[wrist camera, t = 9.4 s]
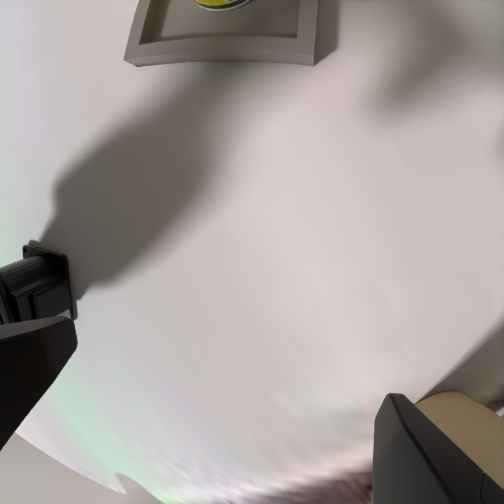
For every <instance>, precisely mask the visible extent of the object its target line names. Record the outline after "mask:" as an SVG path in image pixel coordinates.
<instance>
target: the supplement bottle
mask: <svg viewBox="0 0 504 504" xmlns="http://www.w3.org/2000/svg"><path fill="white" fill-rule="evenodd" d="M194 1H195V2H196V3H197V4H198V5H199V6H201V7H202V8H204V9H207V10H211V11H225V10H231V9H235V8H238V7H240V6H242V5H244V4H246V3H248V2H249V1H250V0H194Z"/></svg>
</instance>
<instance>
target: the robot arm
mask: <svg viewBox="0 0 504 504" xmlns="http://www.w3.org/2000/svg"><path fill="white" fill-rule="evenodd" d="M73 321H74V318H73V311H72V304H71V295H70V286H69V276H68V264H67V258H66V256H65V255H63V254H60V253H56V252H52V251H49V250H45V249H42V248H38V247H34V246H31V245H24V246H23V259H22V260H20V261H17V262H14V263H12V264H9V265H6V266H4V267H1V268H0V451H1V449H2V448H3V446H4V445H5V444H6V443H7V441H8V440H9V438H10V437H11V436H12V434H13V433H14V432H15V431H16V429H17V428H18V427H19V425H20V424H21V423H22V421H23V420H24V419H25V417H26V416H27V415H28V414H29V412H30V411H31V410H32V409H33V407H34V406H35V405H36V403H37V402H38V401H39V400H40V398H41V397H42V396H43V395H44V394H45V392H46V391H47V390H48V389H49V387H50V386H51V385H52V384H53V382H54V381H55V379H56V378H57V377H58V375H59V374H60V372H61V371H62V369H63V368H64V366H65V365H66V363H67V362H68V360H69V359H70V357H71V356H72V354H73V353H74V352H75V350H76V348H77V345H78V341H77V336H76V330H75V324H74V322H73ZM372 477H373V504H504V489H503V488H502V487H501V486H499V485H498V484H497V483H496V482H495V481H494V480H493V479H492V478H491V477H490V476H489V475H488V474H487V473H485V472H484V473H483V470H482V469H481V468H480V467H479V466H478V465H477V464H476V463H475V462H474V461H473V460H472V459H471V458H470V457H469V456H468V455H467V454H465V453H464V452H463V451H462V450H461V449H460V448H459V447H458V446H457V445H456V444H455V443H454V442H453V441H452V440H451V439H450V438H449V437H448V436H447V435H446V434H444V433H443V432H442V431H441V430H440V429H439V428H438V427H437V426H436V425H435V424H434V423H433V422H432V421H431V420H430V419H429V418H428V417H427V416H426V415H425V414H423V413H422V412H421V411H420V410H419V409H418V408H417V407H416V406H415V405H414V404H413V403H412V402H411V401H410V400H409V399H408V398H407V397H406V396H405V395H403V394H399V393H389V394H387V395H386V397H385V399H384V401H383V403H382V405H381V407H380V409H379V411H378V413H377V415H376V418H375V424H374V450H373V468H372Z"/></svg>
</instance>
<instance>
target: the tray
mask: <svg viewBox="0 0 504 504" xmlns="http://www.w3.org/2000/svg"><path fill="white" fill-rule="evenodd" d="M318 6H319V0H250V1H249V2H248V3H246V4H244V5H242V6H240V7H238V8H235V9H231V10H225V11H211V10H207V9H204V8H202V7H201V6H199V5H198V4H197V3H196V2H195V1H194V0H139V2H138V6H137V9H136V12H135V16H134V20H133V23H132V27H131V31H130V35H129V39H128V43H127V47H126V51H125V56H124V61H126V62H129V63H131V64H133V65H134V66H136V67H141V66H149V65H158V64H169V63H181V62H199V61H258V62H276V63H289V64H300V65H309V66H314V59H315V47H316V34H317V21H318Z"/></svg>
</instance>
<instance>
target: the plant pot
mask: <svg viewBox="0 0 504 504" xmlns="http://www.w3.org/2000/svg"><path fill="white" fill-rule="evenodd" d="M415 406H416V407H417V408H418V409H419V410H420V411H421V412H422V413H423V414H425V415H426V416H427V417H428V418H429V419H430V420H431V421H432V422H433V423H434V424H435V425H436V426H437V427H438V428H439V429H440V430H441V431H442V432H443V433H444V434H446V435H447V436H448V437H449V438H450V439H451V440H452V441H453V442H454V443H455V444H456V445H457V446H458V447H459V448H460V449H461V450H462V451H463V452H464V453H465V454H467V455H468V456H469V457H470V458H471V459H472V460H473V461H474V462H475V463H476V464H477V465H478V466H479V467H480V468H481V469H482V470H483V473H484V472H485V473H487V474H488V475H489V476H490V477H491V478H492V479H493V480H494V481H495V482H496V483H497V484H498V485H499V486H501V487H502V488H503V489H504V419H503V418H502V417H500V416H499V415H497V414H496V413H494V412H493V411H492V410H490V409H488V408H487V407H485V406H484V405H482V404H480V403H479V402H477V401H475V400H474V399H472V398H470V397H468V396H466V395H464V394H462V393H460V392H455V391H447V392H442V393H438V394H435V395H432V396H430V397H427V398H425V399H424V400H422V401H420V402H418V403H417V404H415Z"/></svg>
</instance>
